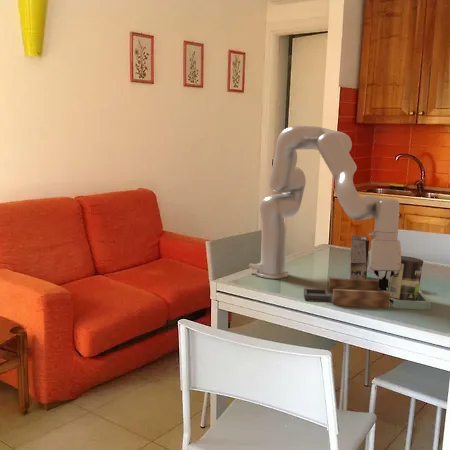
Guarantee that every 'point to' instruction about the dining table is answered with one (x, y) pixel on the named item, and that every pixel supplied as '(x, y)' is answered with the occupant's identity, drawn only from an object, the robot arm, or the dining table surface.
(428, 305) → the dock
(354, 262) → the coffee box
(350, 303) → the channel
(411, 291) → the coffee can
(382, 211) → the robot arm
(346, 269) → the dining table surface
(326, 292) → the tray
